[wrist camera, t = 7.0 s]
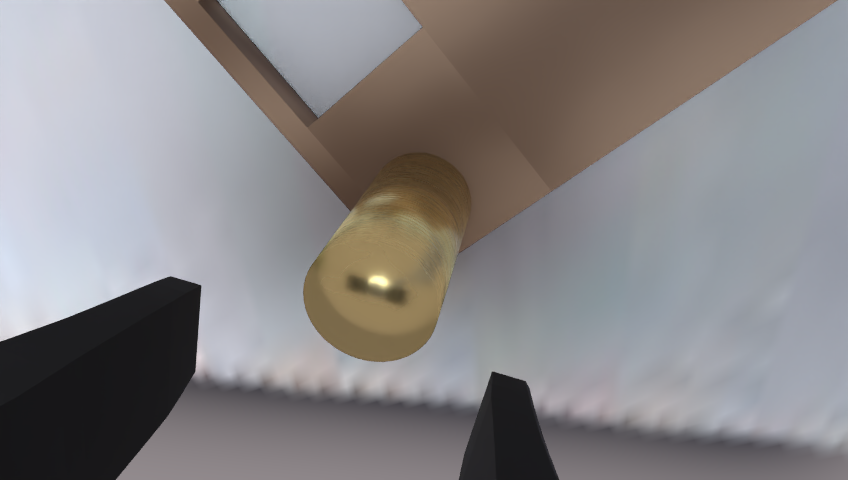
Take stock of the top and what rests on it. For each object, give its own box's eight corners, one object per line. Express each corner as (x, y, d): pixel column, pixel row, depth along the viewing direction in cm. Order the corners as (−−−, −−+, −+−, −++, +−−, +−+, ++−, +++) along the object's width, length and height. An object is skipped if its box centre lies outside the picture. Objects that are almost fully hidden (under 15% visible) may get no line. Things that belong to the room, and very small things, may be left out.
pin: (491, 211, 19) (466, 320, 14) (415, 263, 20) (365, 382, 15) (427, 132, 19) (374, 215, 13) (351, 190, 20) (276, 288, 14)
